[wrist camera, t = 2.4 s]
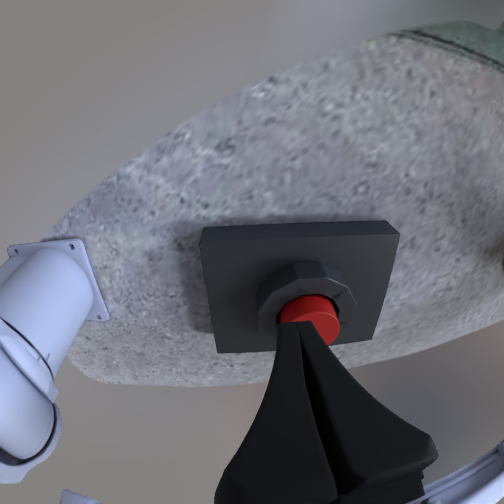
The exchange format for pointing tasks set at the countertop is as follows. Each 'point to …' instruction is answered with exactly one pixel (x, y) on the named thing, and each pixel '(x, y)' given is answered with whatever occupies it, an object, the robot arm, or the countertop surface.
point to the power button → (313, 315)
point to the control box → (294, 277)
